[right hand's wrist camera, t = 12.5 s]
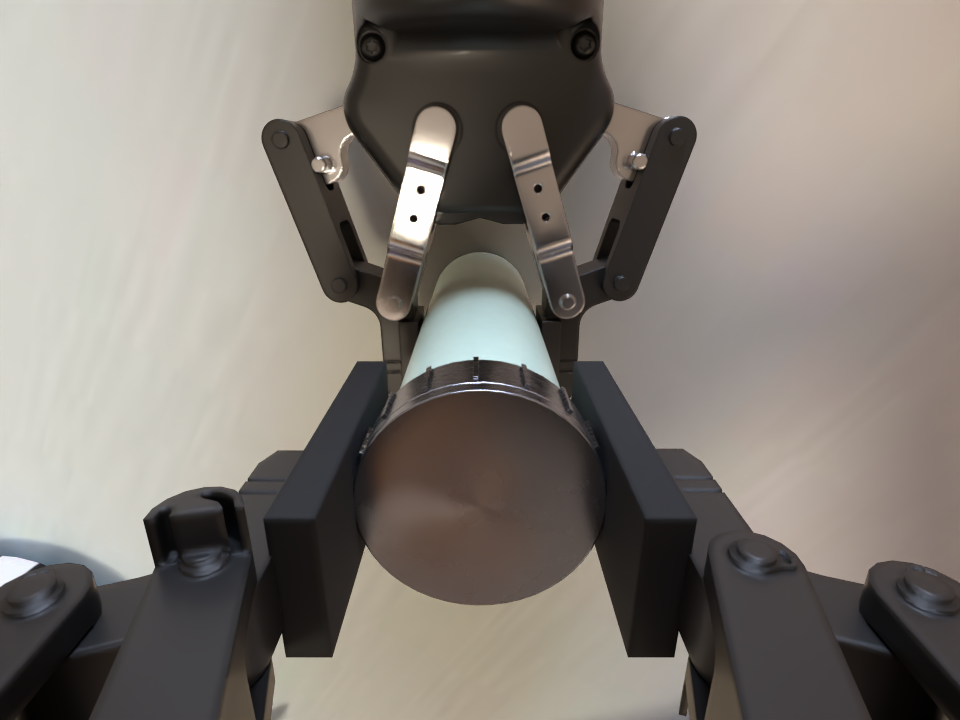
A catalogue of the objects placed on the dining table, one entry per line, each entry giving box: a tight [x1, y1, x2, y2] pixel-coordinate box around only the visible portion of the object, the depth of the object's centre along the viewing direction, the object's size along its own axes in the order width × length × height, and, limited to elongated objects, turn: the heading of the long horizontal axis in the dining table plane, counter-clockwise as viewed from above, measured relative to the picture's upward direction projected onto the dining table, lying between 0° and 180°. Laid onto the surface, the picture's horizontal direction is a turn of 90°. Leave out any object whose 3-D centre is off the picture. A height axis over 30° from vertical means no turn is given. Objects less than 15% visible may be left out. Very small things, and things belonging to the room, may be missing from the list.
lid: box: [353, 357, 607, 605], centre depth 11 cm, size 5×5×2 cm
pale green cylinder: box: [400, 252, 560, 389], centre depth 18 cm, size 4×4×16 cm
